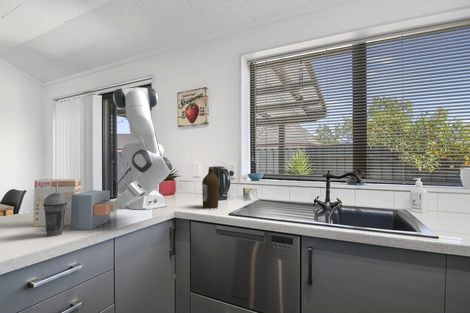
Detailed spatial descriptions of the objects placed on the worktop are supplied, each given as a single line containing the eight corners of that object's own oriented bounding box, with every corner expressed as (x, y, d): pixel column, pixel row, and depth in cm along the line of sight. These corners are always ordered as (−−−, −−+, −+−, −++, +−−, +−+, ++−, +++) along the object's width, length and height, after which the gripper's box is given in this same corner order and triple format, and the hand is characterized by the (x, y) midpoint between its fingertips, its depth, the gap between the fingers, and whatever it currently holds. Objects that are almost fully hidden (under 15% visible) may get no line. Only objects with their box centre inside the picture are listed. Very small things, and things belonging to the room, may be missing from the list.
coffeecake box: (80, 221, 105) (81, 178, 105) (73, 225, 98) (75, 179, 99) (41, 222, 101) (43, 178, 102) (32, 227, 94) (34, 180, 95)
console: (109, 220, 106) (110, 190, 106) (90, 229, 92) (91, 195, 92) (91, 220, 106) (92, 190, 106) (70, 229, 92) (71, 194, 92)
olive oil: (214, 205, 148) (215, 166, 148) (221, 208, 139) (222, 167, 139) (199, 206, 143) (200, 166, 143) (205, 209, 134) (206, 167, 134)
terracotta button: (110, 213, 98) (111, 203, 98) (105, 215, 94) (105, 205, 94) (96, 213, 98) (96, 203, 98) (90, 215, 94) (91, 205, 94)
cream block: (118, 209, 105) (118, 201, 105) (114, 211, 101) (114, 202, 101) (105, 209, 105) (105, 200, 105) (100, 211, 101) (100, 202, 101)
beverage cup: (63, 230, 91) (65, 180, 91) (68, 234, 86) (70, 181, 86) (40, 234, 85) (42, 181, 86) (43, 239, 80) (46, 182, 81)
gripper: (146, 179, 114) (126, 199, 113) (128, 183, 93) (103, 207, 93) (155, 188, 114) (134, 208, 113) (138, 194, 93) (114, 218, 93)
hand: (120, 207), depth 103 cm, fingers closed
